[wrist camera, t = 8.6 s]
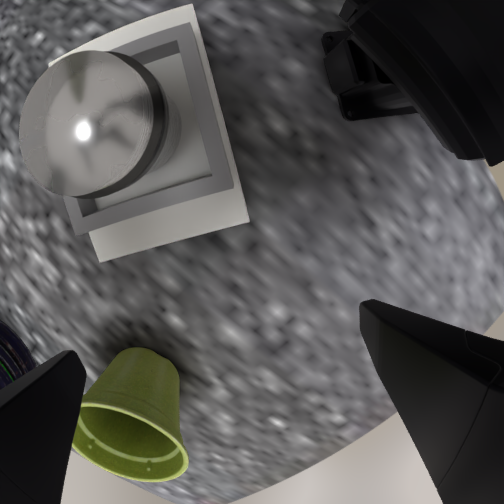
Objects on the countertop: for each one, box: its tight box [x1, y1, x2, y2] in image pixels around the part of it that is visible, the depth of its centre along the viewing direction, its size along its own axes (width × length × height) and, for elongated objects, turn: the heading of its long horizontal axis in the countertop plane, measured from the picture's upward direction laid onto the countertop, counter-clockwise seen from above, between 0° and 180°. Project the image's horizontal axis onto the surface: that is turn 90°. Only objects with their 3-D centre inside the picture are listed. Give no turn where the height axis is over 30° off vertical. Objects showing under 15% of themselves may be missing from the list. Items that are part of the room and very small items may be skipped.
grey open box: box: [49, 4, 250, 263], centre depth 16 cm, size 9×13×6 cm
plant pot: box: [72, 347, 189, 482], centre depth 20 cm, size 9×9×9 cm
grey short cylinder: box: [19, 50, 182, 199], centre depth 11 cm, size 6×6×7 cm
